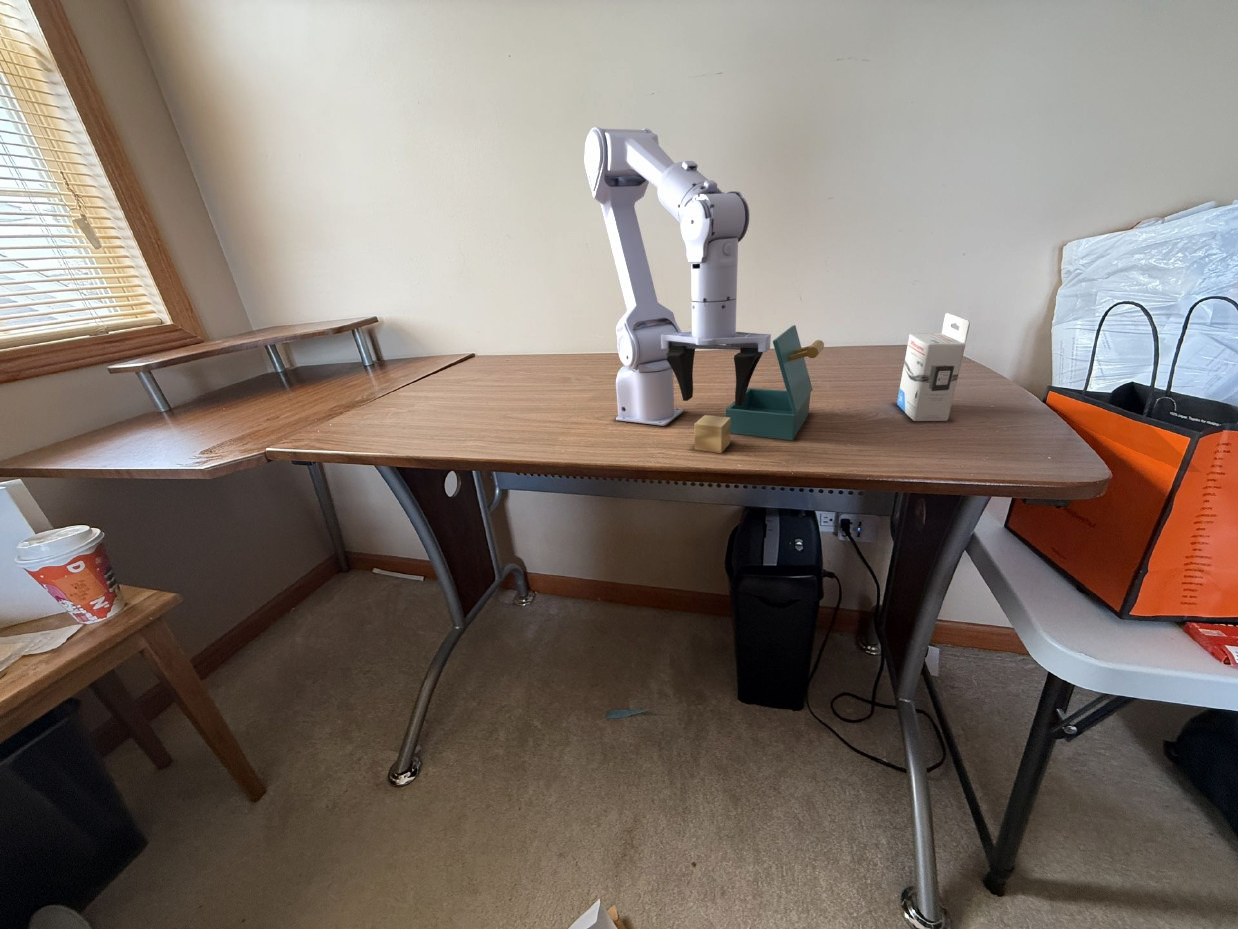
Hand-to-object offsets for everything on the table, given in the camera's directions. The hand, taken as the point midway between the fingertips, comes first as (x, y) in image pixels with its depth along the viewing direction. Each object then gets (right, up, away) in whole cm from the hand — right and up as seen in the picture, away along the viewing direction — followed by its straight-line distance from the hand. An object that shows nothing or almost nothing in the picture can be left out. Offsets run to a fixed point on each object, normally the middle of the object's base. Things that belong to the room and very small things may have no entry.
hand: (713, 401), depth 67 cm
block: (0, -6, +3) cm, 7 cm away
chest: (+11, -2, +10) cm, 15 cm away
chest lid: (+13, +6, +5) cm, 15 cm away
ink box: (+35, -1, +9) cm, 36 cm away
